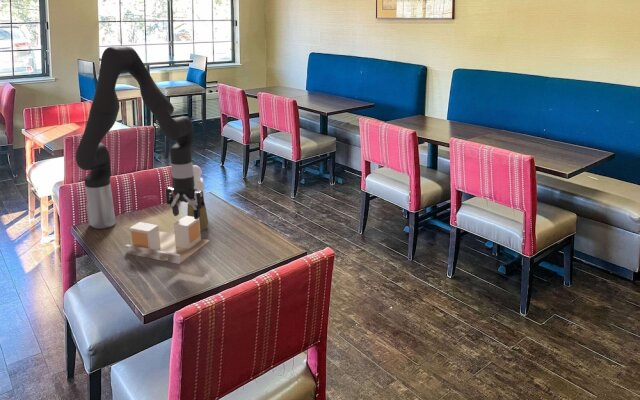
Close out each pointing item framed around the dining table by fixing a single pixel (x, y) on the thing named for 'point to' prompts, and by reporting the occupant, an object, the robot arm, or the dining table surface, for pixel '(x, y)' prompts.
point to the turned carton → (187, 232)
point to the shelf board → (166, 249)
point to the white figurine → (198, 179)
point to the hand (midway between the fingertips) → (186, 216)
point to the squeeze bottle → (203, 214)
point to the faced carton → (145, 235)
